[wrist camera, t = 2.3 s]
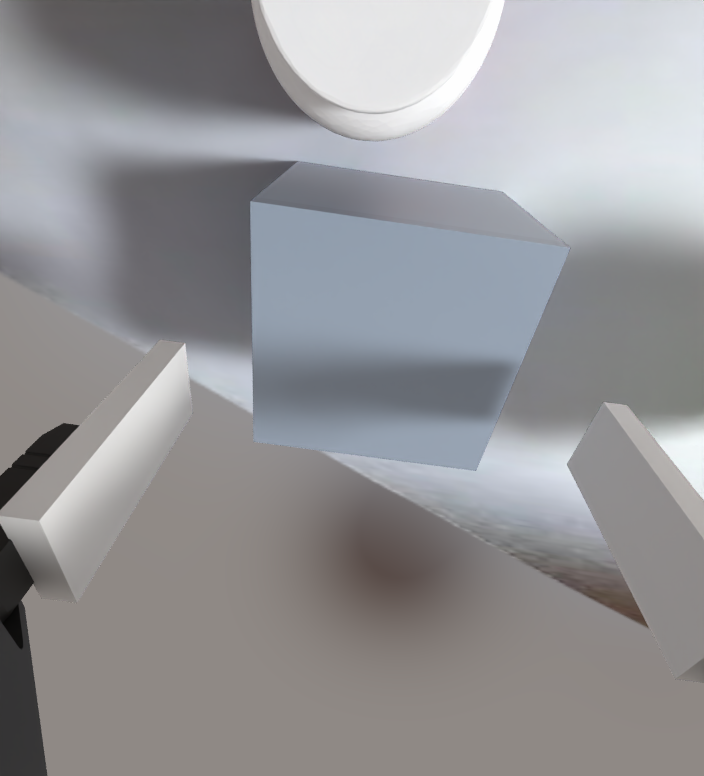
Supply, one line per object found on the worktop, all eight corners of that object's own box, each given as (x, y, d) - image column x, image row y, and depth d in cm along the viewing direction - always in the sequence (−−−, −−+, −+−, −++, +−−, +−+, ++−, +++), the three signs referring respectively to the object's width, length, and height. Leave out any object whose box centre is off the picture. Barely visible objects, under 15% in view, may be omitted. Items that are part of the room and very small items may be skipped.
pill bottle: (379, 159, 19) (378, 218, 10) (268, 42, 17) (141, -13, 8) (491, 23, 16) (628, -62, 7) (374, -138, 14) (362, -542, 5)
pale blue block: (289, 342, 25) (253, 441, 18) (297, 161, 19) (250, 201, 12) (449, 364, 25) (476, 470, 18) (502, 191, 20) (570, 247, 13)
